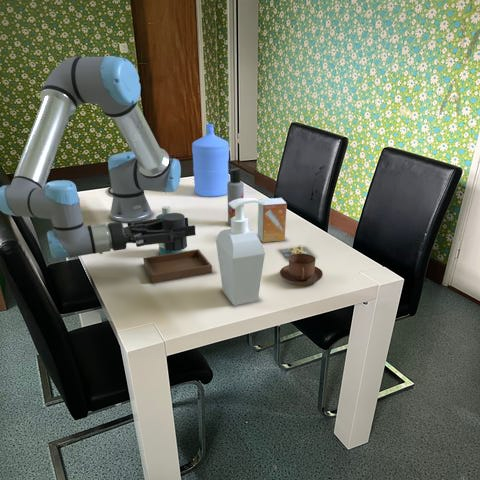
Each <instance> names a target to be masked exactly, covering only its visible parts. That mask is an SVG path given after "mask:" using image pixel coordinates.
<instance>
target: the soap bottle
mask: <svg viewBox="0 0 480 480" xmlns="http://www.w3.org/2000/svg"><path fill="white" fill-rule="evenodd" d="M251 203H256V204H258V203H259V204H263V202H262V201H260V200H259V199H257V198H253V197H243V198H240V199H236V200H233V201H231V202H229V203H228V202H227V205H228V204H229V206H231V207H232V208H233V209H235V217H233V218H231V226H230V228H228V229H222V230H221V231H219V232H218V234H217V236H216V239H215V244H216V250H217V259H218V265H219V266H218V267H219V273H220V279H221V280H220V281H221V287H222V293H224V295H225V296H226V297H227V298H228V300H229V302H230V303H231V304H232V305H233V306H238V305H244V304H249V303H252V302H253V303H254V302H257V301H258V299H259V294H260V288H261V282H262V274H263V268H264V262H265V255H266V253H265V250H264V249H265V248H264V246H263V244H262V241H261V240H260V238H259V237H258V234H257V232H255V231H254V230H253V229H252V228H251V227H249V218H248V217H246V216H245V215H244V210H245V209H244V206H245V205H246V204H251Z"/></svg>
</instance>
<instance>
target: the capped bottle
mask: <svg viewBox="0 0 480 480" xmlns="http://www.w3.org/2000/svg"><path fill="white" fill-rule="evenodd" d="M171 208H172V207H171V206H170V205H163V206H162V207H161V214H157V215H156V217H155V219H157V218H161V217H162V216H163V215H165V214H168V213H172V209H171ZM161 220H162V219H161ZM158 250H159V255H165V254H172V253H178V252H182V250H179V251H170V250H167V249H165V248H164V243H160V244H158Z"/></svg>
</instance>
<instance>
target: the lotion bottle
mask: <svg viewBox="0 0 480 480" xmlns="http://www.w3.org/2000/svg"><path fill="white" fill-rule="evenodd" d="M241 176H242V173H241V169H240V167H233V168H231V169H229V182H228V183H227V194H226V195H227V224H228V225H229V226H230V227H231V218H233V217H235V209H233V208H232V207H231V206H229V204H228V203H229V202H231V201H233V200H236V199H240V198H244V182H243V181H242V177H241Z"/></svg>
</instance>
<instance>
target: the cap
mask: <svg viewBox="0 0 480 480" xmlns="http://www.w3.org/2000/svg"><path fill="white" fill-rule="evenodd" d="M185 218H186V217H185V214H183V213H180V212H171V213H168V214H165V215H163V216H162V228H163V230H172V228H177V227H184V226H185ZM173 241H174V242H169V243H164V248H165V249H167V250H170V251H179V250H181V251H183V250H185V249H186V248H187V247H188V236H187V237H180V238H173Z"/></svg>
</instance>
